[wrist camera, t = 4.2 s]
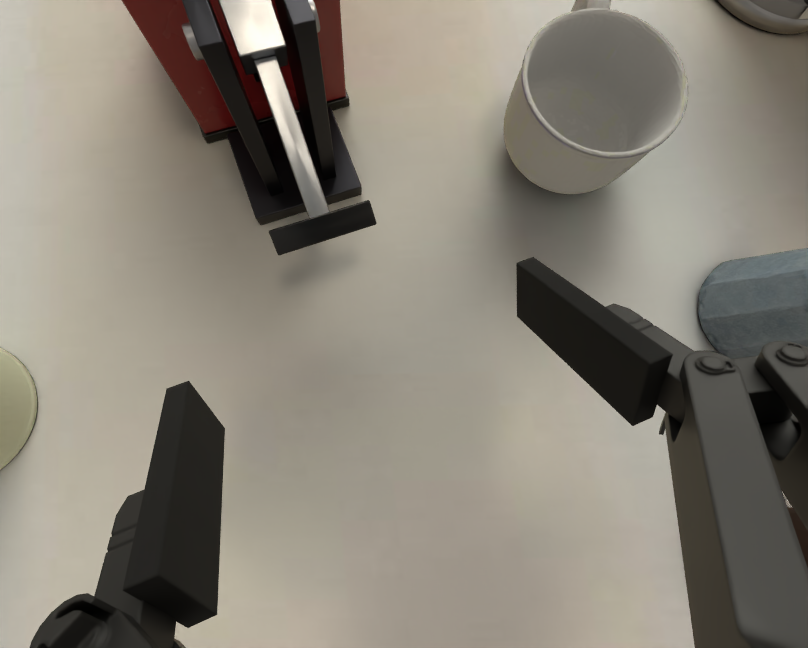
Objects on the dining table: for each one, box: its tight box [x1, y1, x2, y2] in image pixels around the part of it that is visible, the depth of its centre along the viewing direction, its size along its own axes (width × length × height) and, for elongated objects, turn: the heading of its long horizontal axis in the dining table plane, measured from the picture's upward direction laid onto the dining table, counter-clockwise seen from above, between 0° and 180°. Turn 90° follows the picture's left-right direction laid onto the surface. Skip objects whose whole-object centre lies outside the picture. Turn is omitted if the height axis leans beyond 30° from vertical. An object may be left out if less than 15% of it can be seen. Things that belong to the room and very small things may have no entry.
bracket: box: [182, 0, 362, 225], centre depth 23 cm, size 7×8×14 cm
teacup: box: [504, 0, 688, 194], centre depth 29 cm, size 14×11×8 cm
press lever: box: [218, 0, 376, 255], centre depth 20 cm, size 12×6×2 cm, turn 22°
